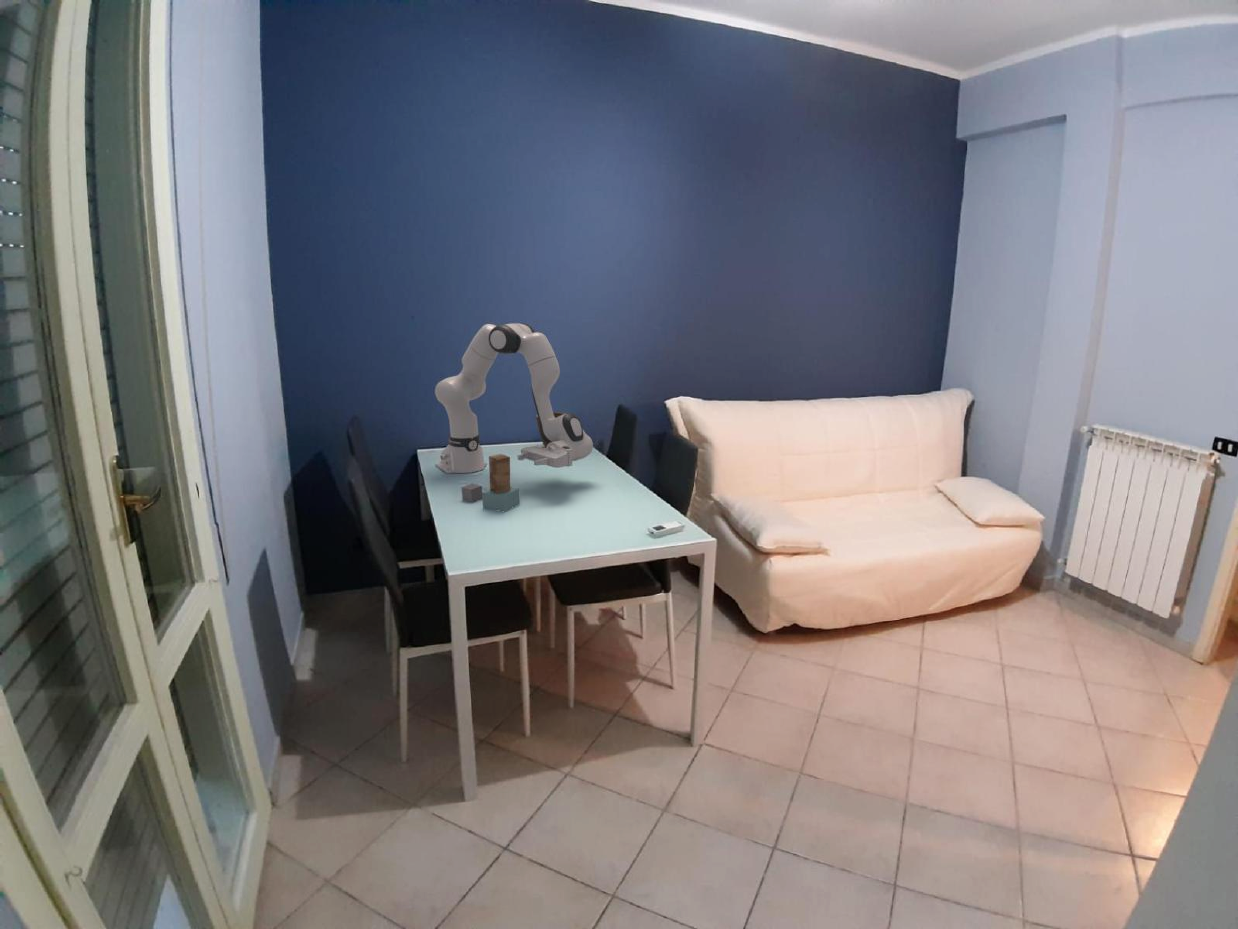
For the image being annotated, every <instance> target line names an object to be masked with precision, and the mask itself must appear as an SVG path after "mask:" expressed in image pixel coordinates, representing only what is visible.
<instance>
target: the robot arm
mask: <svg viewBox="0 0 1238 929" xmlns="http://www.w3.org/2000/svg"><path fill="white" fill-rule="evenodd" d="M517 353H520V354H521V355H523V357H524V359H525V361H526V364H527V367H528V369H529V374H530V378H531V388H530V389H531V394H532V399H533V403H534V407H535V410H536V415H538V419H539V424H540V433H539V435H540V434H541V436H540V438H541V437H542V439H543V440H544V442H545V443H547V444H548V445H547V447H546V448H545V447H544V446H540V445H532V446H527V447H522V448H521V450H520V452H521V453H520V454H518V455H517V456H516V457H517V460H518V461H524V460H529V461H532V462H533V465H534V466H547V467H548V466H549V467H552V468H563V467H571V466H573V462H576V461H579V460H582V459H584V458H587V457H588V456H589V455H591V453H592V451H593V449H594V448H593V447H594V443H593V440H592V438H591V437H590V436H589V435H588V434H587V433H586V431H585V430H584V428H583V423H582V421H581V419H580V417H579V416H578V415H577V414H575V413H573V412H567V413H565V414H564V415H561V416H559V417H557V418H555V417H554V415H553V413H554V412H553V407H552V404H551V403H552V402H551V400H550V395H551V390H552V388H553V386H554V385H555V384H556V383H557V381H558V379H559V377H560V374H561V370H560V369H561V367H560V364H559V363H560V362H559V361H558V359H557V356H556V353H555V351H554V349H553V346H552V345H551V343H550V341H549V340H548V338H547V336H546V335H545V334H544V333H542V332H536V330H535V328H533V327H532V326H531V325H528V324H526V323H524V322H522V323H518V322H517V323H516V322H515V323H514V322H512V323H505V324H498V325H495V324H492V323H487V324H484V325H483V326H482V327H481V328H479V330H478V331H477V333H476V334H475V335H474V336H473V338H472V340H471V341H470V343H469V345H468V346H467V348H466V351H465V352H464V354H463V356H462V357H461V364H462V369H461V371H460V372H459V373H458V374H457V375H454V376H449V377H446V378H444V379H442V380H441V381H439V382H438V383H437V384H436V386H435V389H434V394H435V397H436V399H437V401H438V402H439V403H440V404H442V405H443V407H444V409H445V411H446V413H447V417H448V423H449V432H450V433H449V434H450V435H448V436H447V440H448V445H446V447H445V448H444V449H443V450H441V453H440V460H439V461H436V462H435V466H436V467H437V468H438V469H440V470H441V471H444V472H445V473H447V474H455V473H456V474H458V473H459V474H466V473H468V474H469V473H475V472H479V471H481V470H483V469H484V468H485V466H487V461H485V459H484V451H483V447H482V445H480V443H481V437H480V434H479V425H478V424H479V423H478V417H477V414H475V413H474V412H473V411H472V408H471V406H470V401H473V400H476V399H478V398H480V397H481V396H482V395H483V394H485V392H486V390H487V389H486V388H487V384H486V377H487V376H488V373H489V370H490V369H491V367H492V365H493V364H494V362H495V360H496V358H497V356H498V355H499V354H501V355H502V354H505V355H506V354H507V355H509V354H517ZM542 439H541V440H542Z"/></svg>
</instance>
